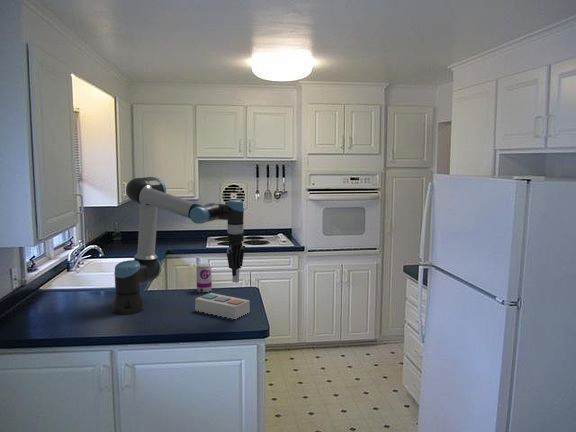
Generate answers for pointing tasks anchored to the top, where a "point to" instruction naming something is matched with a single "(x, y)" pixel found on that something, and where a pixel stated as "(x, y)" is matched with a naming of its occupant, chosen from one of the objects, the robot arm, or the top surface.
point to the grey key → (222, 299)
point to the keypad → (222, 307)
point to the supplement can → (204, 278)
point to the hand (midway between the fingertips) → (235, 281)
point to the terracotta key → (235, 302)
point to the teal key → (209, 296)
